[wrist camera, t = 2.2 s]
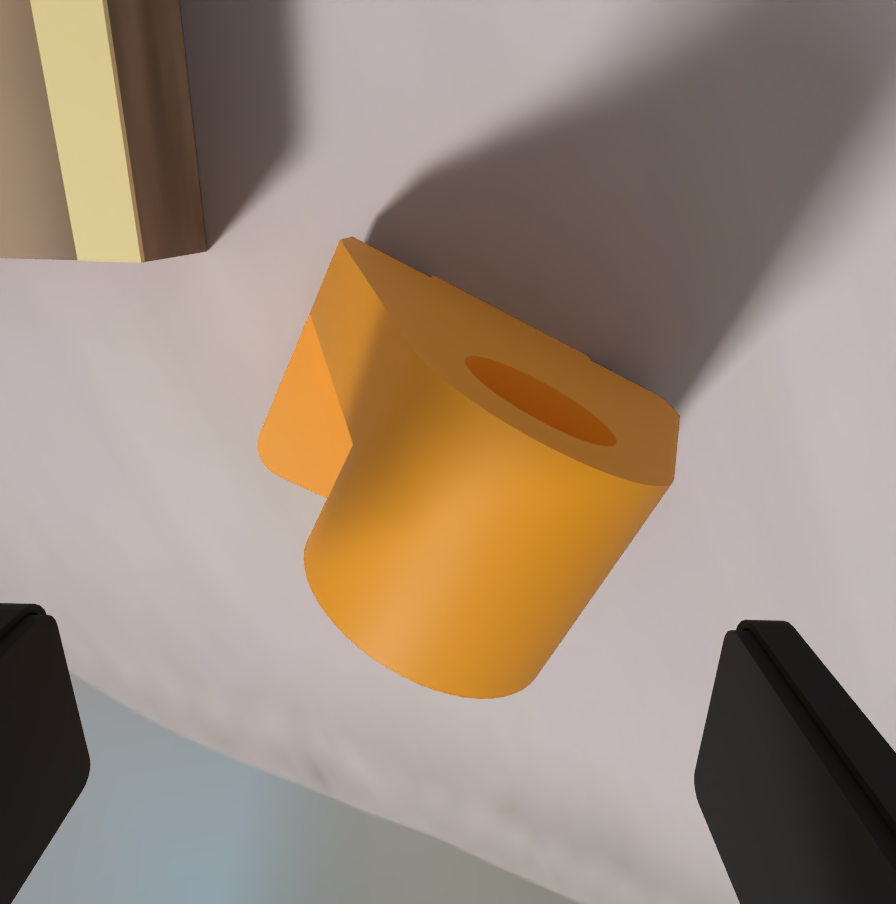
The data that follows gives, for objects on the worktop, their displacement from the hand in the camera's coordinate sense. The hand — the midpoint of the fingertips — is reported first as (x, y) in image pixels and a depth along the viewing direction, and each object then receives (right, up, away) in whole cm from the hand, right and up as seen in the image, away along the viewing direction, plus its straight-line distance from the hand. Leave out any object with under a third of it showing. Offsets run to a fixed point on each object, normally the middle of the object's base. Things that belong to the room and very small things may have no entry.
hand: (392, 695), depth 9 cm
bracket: (+1, +5, +13) cm, 14 cm away
